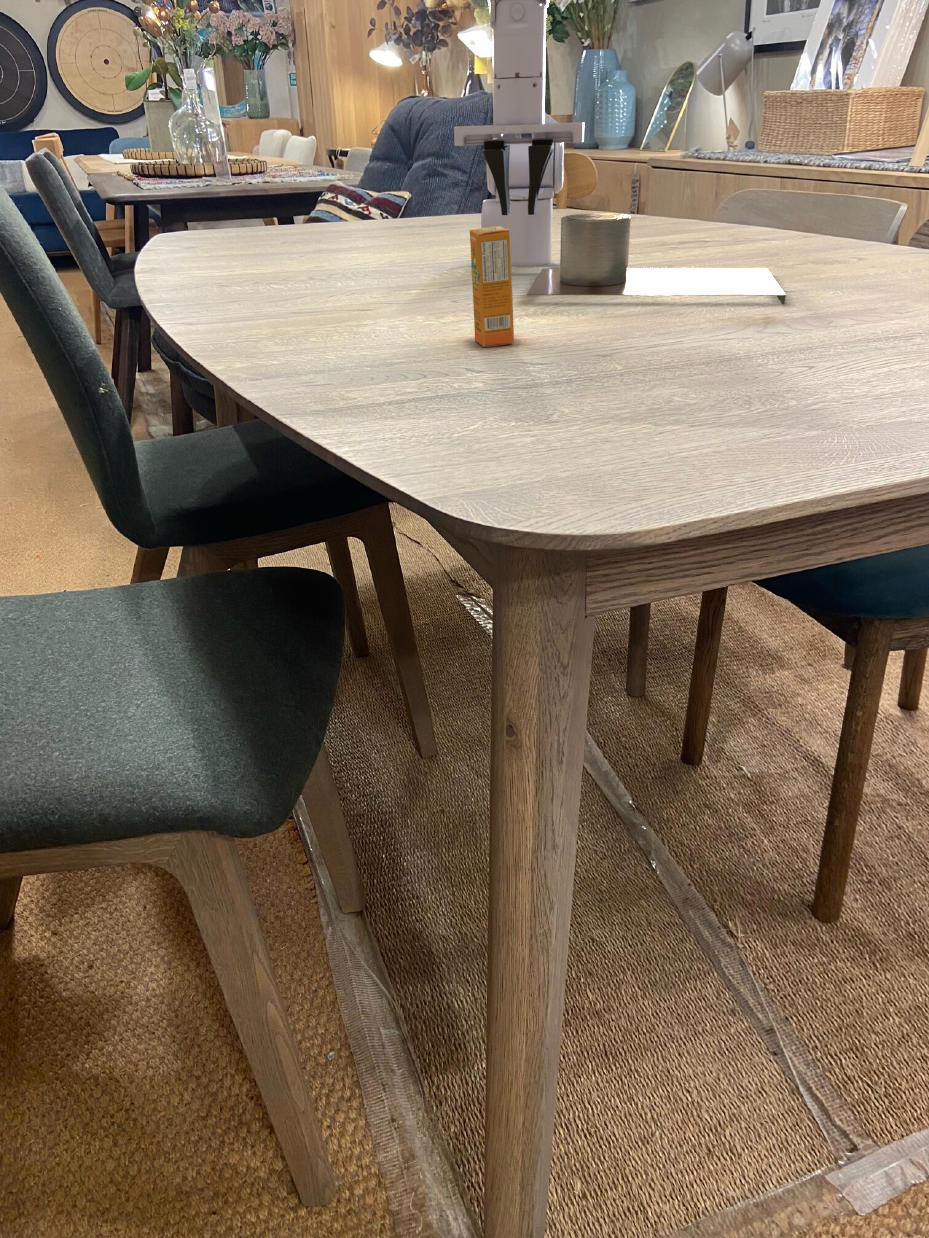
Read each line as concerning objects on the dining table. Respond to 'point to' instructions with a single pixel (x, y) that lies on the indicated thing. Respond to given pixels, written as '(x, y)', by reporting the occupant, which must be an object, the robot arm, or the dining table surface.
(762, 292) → the board
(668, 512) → the dining table surface
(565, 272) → the grey metal cylinder
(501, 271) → the supplement box
